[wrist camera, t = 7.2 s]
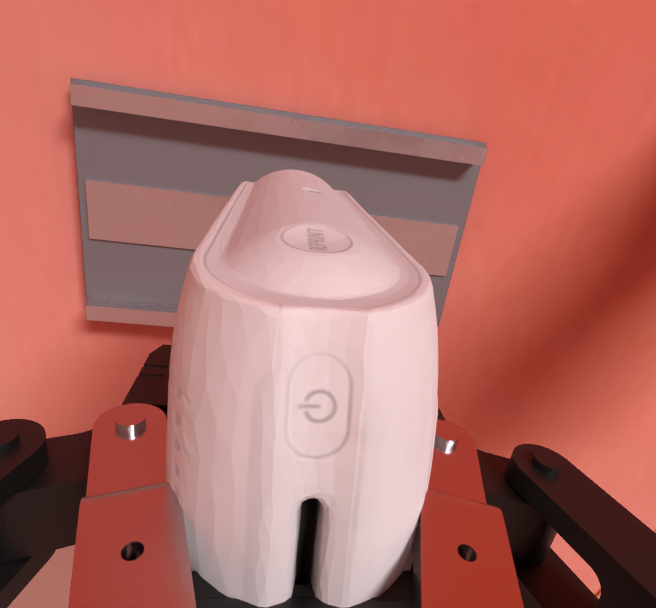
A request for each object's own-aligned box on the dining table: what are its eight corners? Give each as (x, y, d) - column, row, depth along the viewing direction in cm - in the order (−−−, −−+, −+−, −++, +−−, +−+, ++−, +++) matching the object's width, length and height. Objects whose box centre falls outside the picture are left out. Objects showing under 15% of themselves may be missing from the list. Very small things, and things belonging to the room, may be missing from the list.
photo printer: (231, 159, 15) (74, 291, 3) (355, 171, 15) (572, 319, 4) (227, 409, 19) (147, 857, 7) (326, 411, 19) (393, 830, 8)
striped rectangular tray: (477, 147, 27) (487, 148, 26) (428, 338, 32) (434, 347, 31) (80, 85, 24) (69, 83, 22) (95, 311, 29) (86, 319, 27)
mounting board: (479, 142, 28) (486, 143, 27) (429, 336, 33) (433, 342, 32) (78, 79, 24) (70, 77, 23) (93, 308, 29) (87, 314, 29)
